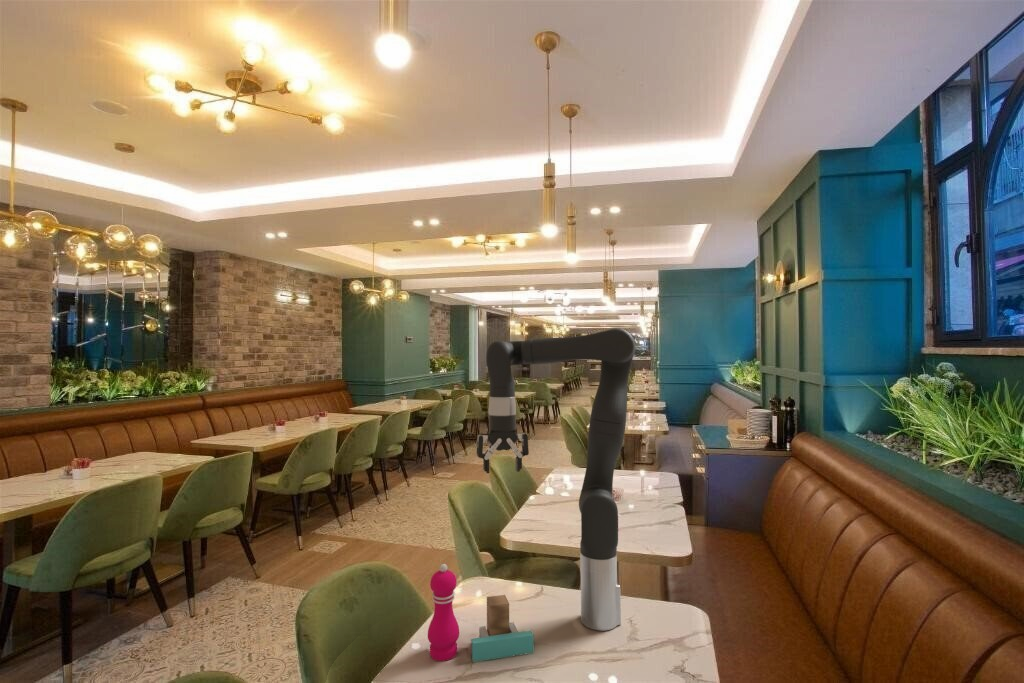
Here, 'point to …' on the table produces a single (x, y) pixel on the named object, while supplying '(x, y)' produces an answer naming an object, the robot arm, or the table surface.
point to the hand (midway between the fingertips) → (502, 472)
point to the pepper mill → (443, 616)
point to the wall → (502, 645)
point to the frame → (484, 633)
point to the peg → (497, 615)
